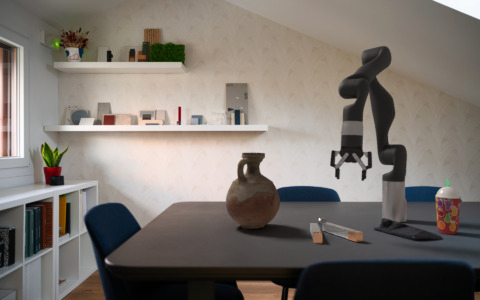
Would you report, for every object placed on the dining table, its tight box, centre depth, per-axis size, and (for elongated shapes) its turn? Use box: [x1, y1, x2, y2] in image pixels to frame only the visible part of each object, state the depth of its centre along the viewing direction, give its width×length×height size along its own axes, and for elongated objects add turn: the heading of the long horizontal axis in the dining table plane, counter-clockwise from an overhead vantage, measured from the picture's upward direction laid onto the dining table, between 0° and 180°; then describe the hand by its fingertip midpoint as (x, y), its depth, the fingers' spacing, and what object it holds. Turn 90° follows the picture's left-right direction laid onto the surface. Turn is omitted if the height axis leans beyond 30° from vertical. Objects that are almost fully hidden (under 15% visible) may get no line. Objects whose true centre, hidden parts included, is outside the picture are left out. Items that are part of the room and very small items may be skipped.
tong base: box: [309, 217, 327, 244], centre depth 136 cm, size 22×6×4 cm, turn 173°
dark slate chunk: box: [373, 217, 444, 241], centre depth 139 cm, size 15×22×5 cm
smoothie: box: [434, 178, 462, 235], centre depth 141 cm, size 8×8×20 cm
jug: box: [225, 152, 281, 230], centre depth 151 cm, size 22×22×30 cm
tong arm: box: [321, 221, 364, 243], centre depth 135 cm, size 19×3×3 cm, turn 24°
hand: (350, 179), depth 135 cm, fingers open, 8 cm apart
